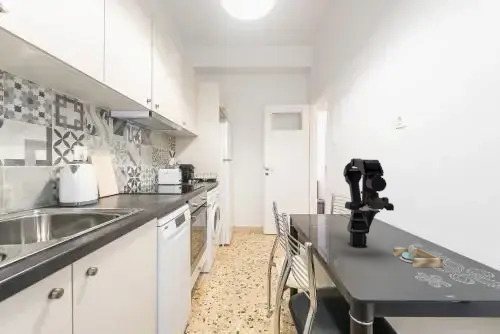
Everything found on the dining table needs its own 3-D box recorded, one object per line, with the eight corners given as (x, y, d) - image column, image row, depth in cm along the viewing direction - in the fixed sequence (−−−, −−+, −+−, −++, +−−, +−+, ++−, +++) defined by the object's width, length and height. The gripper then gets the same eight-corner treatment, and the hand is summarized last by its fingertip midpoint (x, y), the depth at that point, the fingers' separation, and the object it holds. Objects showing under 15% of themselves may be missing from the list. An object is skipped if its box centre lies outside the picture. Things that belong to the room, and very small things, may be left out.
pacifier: (407, 264, 108) (421, 263, 109) (407, 248, 108) (421, 247, 109) (395, 258, 116) (409, 257, 116) (395, 243, 115) (409, 242, 116)
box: (414, 267, 104) (414, 259, 104) (393, 255, 118) (393, 248, 118) (442, 267, 105) (442, 259, 105) (417, 255, 119) (418, 248, 119)
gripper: (356, 190, 109) (355, 231, 109) (402, 191, 110) (401, 231, 110) (344, 188, 120) (343, 224, 120) (386, 189, 121) (386, 225, 121)
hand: (368, 226), depth 118 cm, fingers closed
